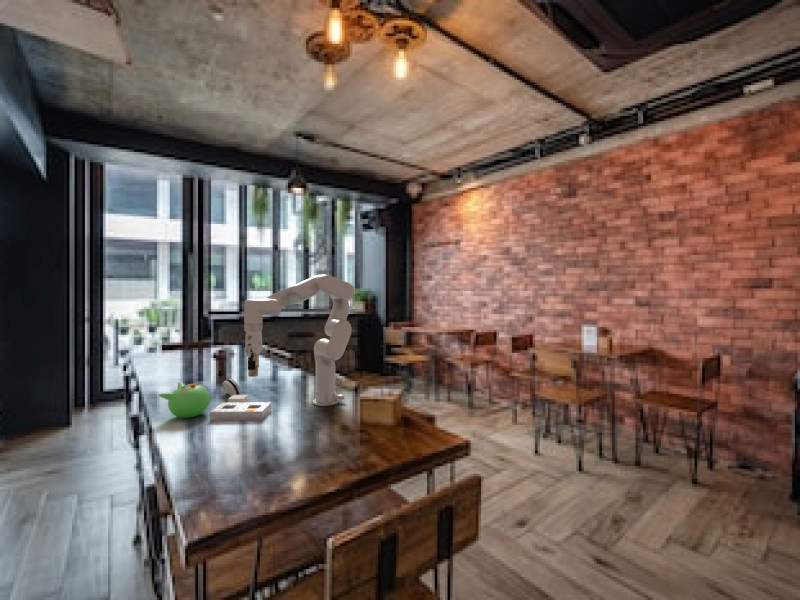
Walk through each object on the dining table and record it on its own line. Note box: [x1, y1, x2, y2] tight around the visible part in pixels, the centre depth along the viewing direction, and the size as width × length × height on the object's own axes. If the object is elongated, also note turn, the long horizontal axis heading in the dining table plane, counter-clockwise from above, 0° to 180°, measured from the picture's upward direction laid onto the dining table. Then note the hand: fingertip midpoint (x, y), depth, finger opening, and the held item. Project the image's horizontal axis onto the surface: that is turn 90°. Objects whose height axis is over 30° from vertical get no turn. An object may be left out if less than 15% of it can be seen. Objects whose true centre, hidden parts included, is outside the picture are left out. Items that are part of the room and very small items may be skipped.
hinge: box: [222, 378, 245, 397], centre depth 217 cm, size 17×5×10 cm, turn 39°
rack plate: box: [209, 401, 272, 422], centre depth 184 cm, size 22×14×4 cm, turn 92°
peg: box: [247, 352, 259, 378], centre depth 183 cm, size 4×4×10 cm
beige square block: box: [227, 394, 249, 403], centre depth 197 cm, size 7×7×5 cm
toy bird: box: [158, 381, 211, 419], centre depth 183 cm, size 18×17×15 cm
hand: (253, 368), depth 183 cm, fingers closed on peg, 4 cm apart
